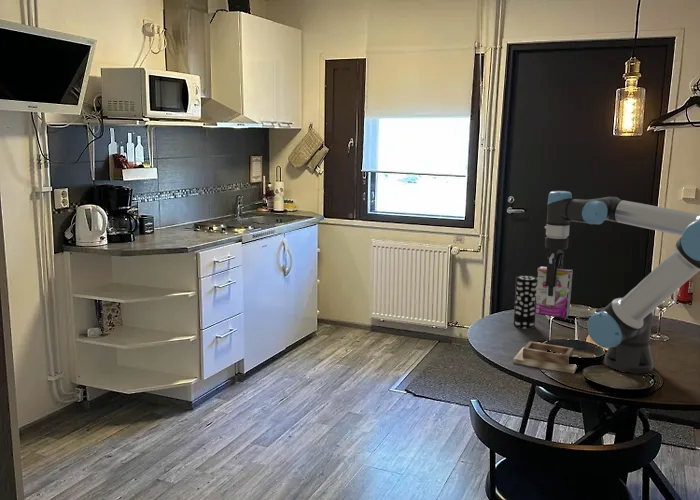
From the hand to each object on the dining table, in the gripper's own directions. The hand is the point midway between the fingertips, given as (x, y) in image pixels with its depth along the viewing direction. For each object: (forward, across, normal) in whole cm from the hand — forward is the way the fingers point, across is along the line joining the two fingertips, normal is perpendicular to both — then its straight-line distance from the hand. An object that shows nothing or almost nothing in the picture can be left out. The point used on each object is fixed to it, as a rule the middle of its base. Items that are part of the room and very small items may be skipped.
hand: (552, 302), depth 223 cm
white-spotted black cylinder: (+20, -31, -18) cm, 41 cm away
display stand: (+20, +5, +1) cm, 20 cm away
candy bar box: (+5, 0, 0) cm, 5 cm away
